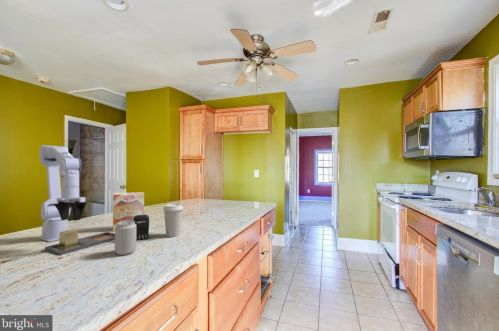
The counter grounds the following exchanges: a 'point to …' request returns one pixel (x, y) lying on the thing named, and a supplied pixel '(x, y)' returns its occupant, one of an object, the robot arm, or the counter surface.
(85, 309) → the counter surface
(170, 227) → the coffee cup
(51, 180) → the robot arm
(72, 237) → the brass block
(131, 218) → the coffeecake box
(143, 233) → the battery charger
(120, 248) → the can
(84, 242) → the gray rectangular frame
